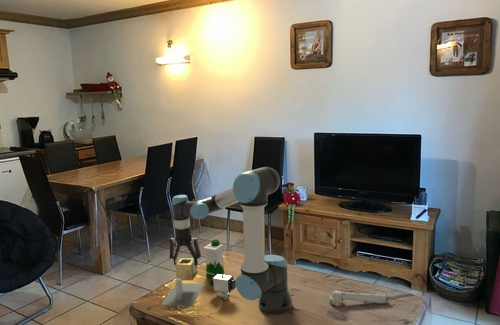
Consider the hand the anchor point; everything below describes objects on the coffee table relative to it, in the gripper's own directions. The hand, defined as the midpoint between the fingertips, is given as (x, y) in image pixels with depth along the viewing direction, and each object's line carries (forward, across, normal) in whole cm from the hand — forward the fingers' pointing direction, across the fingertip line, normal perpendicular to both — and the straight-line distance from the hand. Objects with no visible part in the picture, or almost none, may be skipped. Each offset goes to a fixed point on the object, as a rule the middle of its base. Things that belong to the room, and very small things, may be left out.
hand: (186, 271), depth 198 cm
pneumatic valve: (+11, -20, +5) cm, 23 cm away
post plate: (+11, 0, +5) cm, 12 cm away
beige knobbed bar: (+13, -81, +5) cm, 82 cm away
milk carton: (+11, -10, -16) cm, 22 cm away
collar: (+3, 0, 0) cm, 3 cm away
